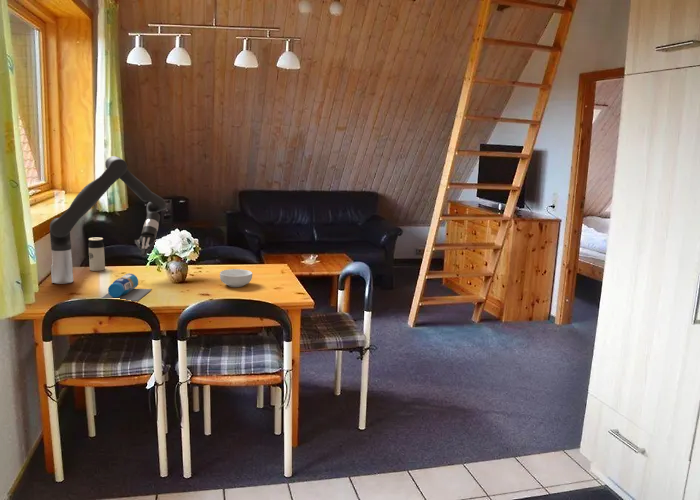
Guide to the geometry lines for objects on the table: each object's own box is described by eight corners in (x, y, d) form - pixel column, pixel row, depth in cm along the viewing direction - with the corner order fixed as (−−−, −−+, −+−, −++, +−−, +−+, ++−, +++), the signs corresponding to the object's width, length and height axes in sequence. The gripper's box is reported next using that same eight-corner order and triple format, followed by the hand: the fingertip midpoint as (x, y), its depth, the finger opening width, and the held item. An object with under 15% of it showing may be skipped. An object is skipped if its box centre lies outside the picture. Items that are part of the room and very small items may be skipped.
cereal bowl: (232, 291, 296) (232, 277, 295) (213, 285, 307) (213, 271, 306) (258, 285, 309) (258, 272, 307) (239, 279, 320) (239, 267, 318)
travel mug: (102, 267, 337) (100, 236, 334) (107, 270, 332) (105, 238, 328) (87, 269, 332) (86, 238, 329) (92, 271, 326) (91, 240, 323)
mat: (98, 300, 272) (98, 299, 272) (115, 289, 293) (115, 288, 293) (137, 301, 273) (137, 300, 273) (151, 290, 293) (151, 289, 293)
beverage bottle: (134, 292, 294) (119, 302, 275) (119, 284, 294) (102, 294, 274) (141, 278, 293) (126, 287, 273) (126, 269, 292) (110, 278, 273)
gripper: (136, 224, 313) (128, 251, 303) (160, 225, 313) (154, 252, 303) (139, 233, 319) (132, 259, 309) (164, 233, 319) (157, 260, 309)
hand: (143, 256), depth 306 cm, fingers closed
